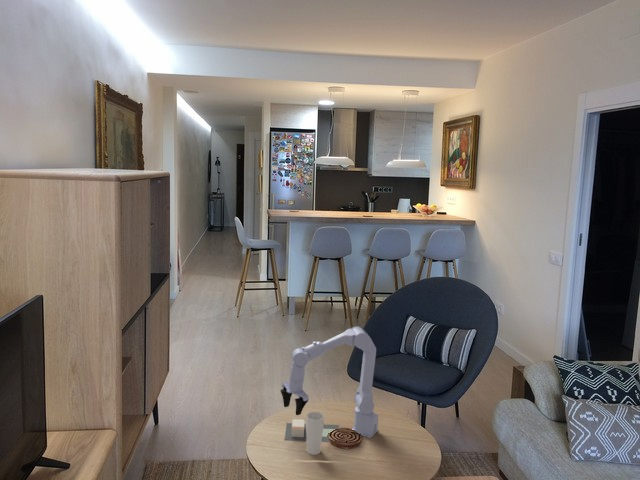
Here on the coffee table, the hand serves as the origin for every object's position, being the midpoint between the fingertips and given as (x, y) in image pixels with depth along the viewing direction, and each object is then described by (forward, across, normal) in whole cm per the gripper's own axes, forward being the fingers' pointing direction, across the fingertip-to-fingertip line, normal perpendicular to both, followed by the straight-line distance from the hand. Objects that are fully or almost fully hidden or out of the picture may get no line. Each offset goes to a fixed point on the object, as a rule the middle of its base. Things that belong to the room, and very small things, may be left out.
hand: (292, 410), depth 216 cm
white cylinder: (+10, +16, -1) cm, 19 cm away
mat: (+9, +6, +8) cm, 13 cm away
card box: (+9, +2, +3) cm, 10 cm away
